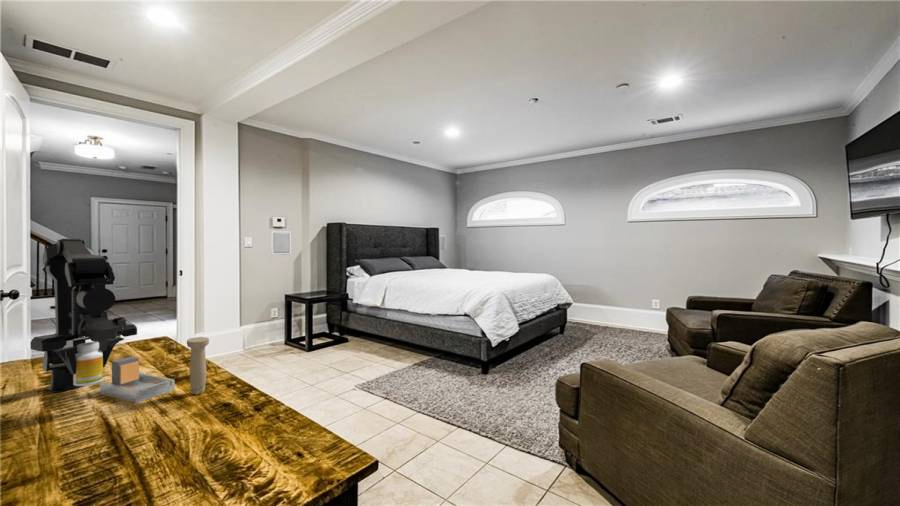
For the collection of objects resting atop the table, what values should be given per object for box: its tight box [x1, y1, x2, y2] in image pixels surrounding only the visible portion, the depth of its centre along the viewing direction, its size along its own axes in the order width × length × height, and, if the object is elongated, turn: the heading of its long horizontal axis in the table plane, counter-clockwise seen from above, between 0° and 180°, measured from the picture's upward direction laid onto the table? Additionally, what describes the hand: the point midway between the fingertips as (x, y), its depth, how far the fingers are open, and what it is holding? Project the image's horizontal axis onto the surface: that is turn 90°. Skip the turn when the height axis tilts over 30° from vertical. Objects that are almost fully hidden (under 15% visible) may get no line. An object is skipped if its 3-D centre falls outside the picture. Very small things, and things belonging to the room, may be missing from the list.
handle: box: [186, 336, 210, 395], centre depth 106 cm, size 5×6×15 cm
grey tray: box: [99, 356, 176, 404], centre depth 106 cm, size 16×10×8 cm, turn 69°
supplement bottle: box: [73, 341, 104, 387], centre depth 94 cm, size 5×5×10 cm
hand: (88, 370), depth 94 cm, fingers closed on supplement bottle, 5 cm apart
